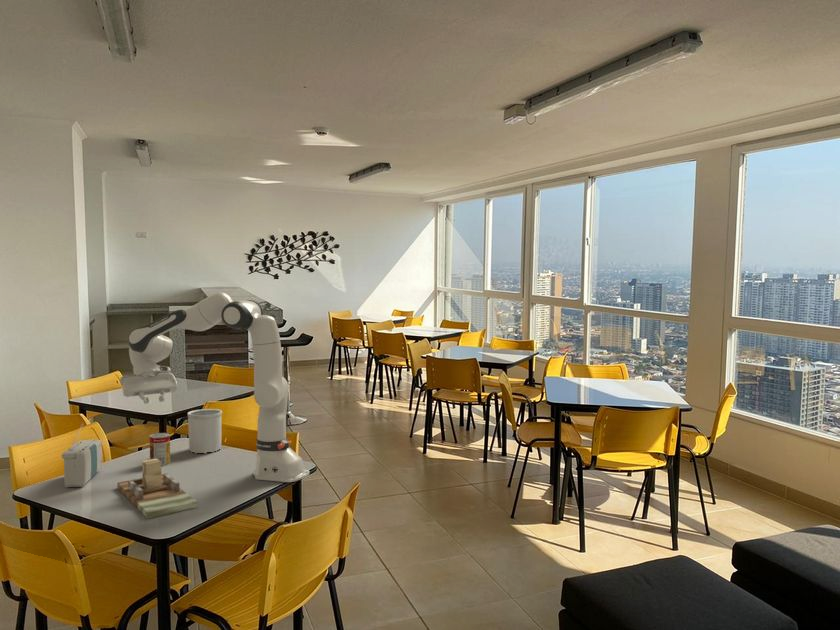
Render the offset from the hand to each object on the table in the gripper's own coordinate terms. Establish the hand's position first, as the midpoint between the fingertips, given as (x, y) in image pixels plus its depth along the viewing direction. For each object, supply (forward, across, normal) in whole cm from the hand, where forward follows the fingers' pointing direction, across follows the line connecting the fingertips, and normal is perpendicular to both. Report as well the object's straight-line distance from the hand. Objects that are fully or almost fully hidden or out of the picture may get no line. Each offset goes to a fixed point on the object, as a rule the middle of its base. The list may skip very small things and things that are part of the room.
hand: (154, 401), depth 237 cm
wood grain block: (+34, -7, +4) cm, 35 cm away
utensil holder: (+4, +29, +38) cm, 48 cm away
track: (+39, -7, +3) cm, 39 cm away
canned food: (+10, +6, +31) cm, 34 cm away
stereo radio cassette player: (+13, -23, +29) cm, 39 cm away
